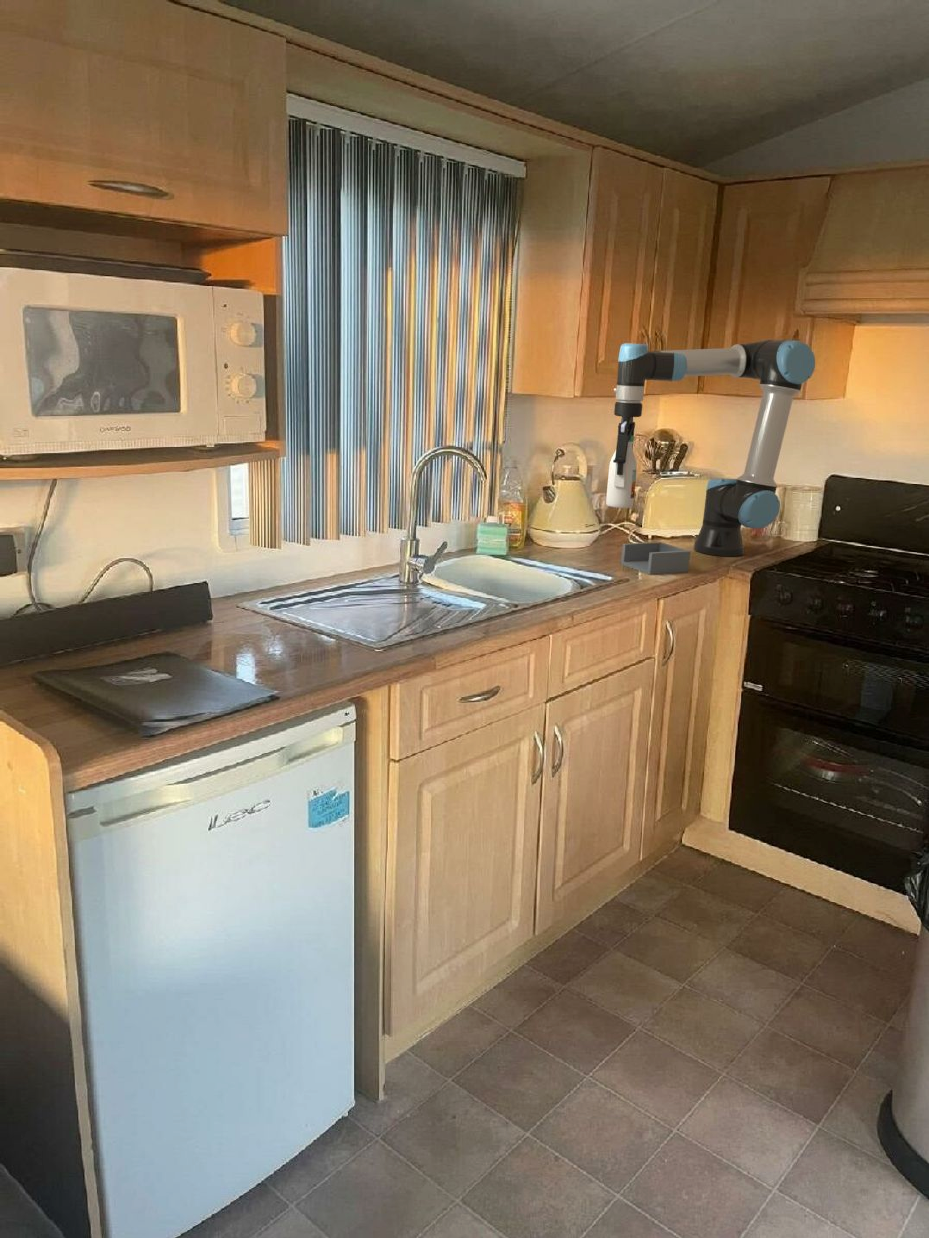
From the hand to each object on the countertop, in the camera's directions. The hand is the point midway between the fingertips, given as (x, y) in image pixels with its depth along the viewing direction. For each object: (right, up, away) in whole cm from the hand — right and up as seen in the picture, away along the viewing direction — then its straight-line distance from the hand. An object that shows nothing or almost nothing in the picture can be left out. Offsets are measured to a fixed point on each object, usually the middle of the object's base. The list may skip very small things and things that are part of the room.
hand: (621, 484), depth 271 cm
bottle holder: (+10, -23, +3) cm, 25 cm away
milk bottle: (0, -6, +2) cm, 6 cm away
